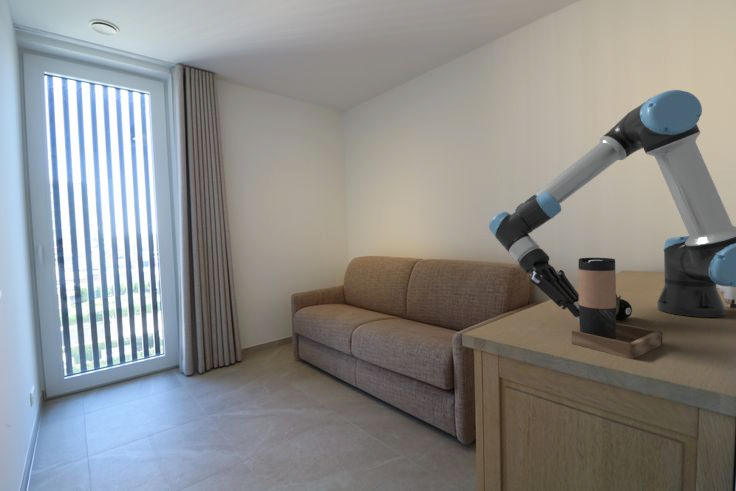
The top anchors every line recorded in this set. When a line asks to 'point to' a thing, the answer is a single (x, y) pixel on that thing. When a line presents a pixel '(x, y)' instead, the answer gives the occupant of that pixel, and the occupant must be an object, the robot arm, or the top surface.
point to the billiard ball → (624, 310)
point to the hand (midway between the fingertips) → (591, 326)
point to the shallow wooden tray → (641, 345)
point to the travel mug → (597, 296)
